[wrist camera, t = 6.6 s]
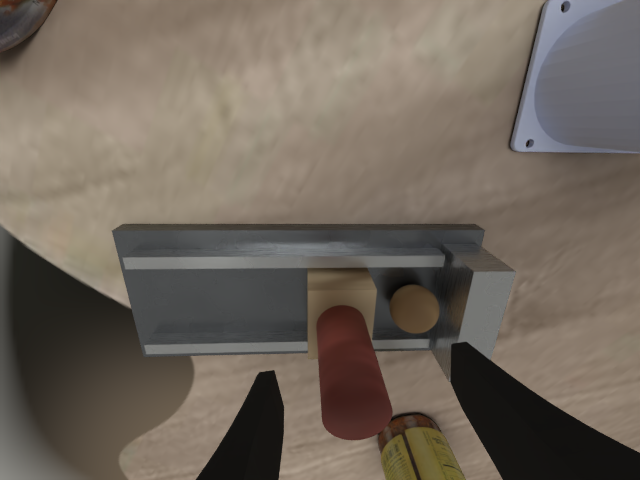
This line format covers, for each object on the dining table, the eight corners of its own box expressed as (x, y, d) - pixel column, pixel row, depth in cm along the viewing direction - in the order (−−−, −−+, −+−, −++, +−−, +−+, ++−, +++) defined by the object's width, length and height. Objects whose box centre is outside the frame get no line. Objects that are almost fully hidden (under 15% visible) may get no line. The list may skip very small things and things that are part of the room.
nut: (431, 275, 21) (452, 301, 18) (424, 314, 22) (443, 343, 19) (386, 276, 21) (400, 301, 18) (382, 314, 22) (394, 344, 19)
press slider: (366, 266, 20) (411, 368, 12) (361, 327, 22) (397, 453, 14) (307, 267, 20) (310, 371, 12) (307, 328, 22) (309, 457, 14)
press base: (475, 224, 21) (526, 255, 16) (450, 339, 25) (485, 391, 20) (122, 224, 20) (64, 257, 15) (151, 345, 24) (112, 403, 19)
